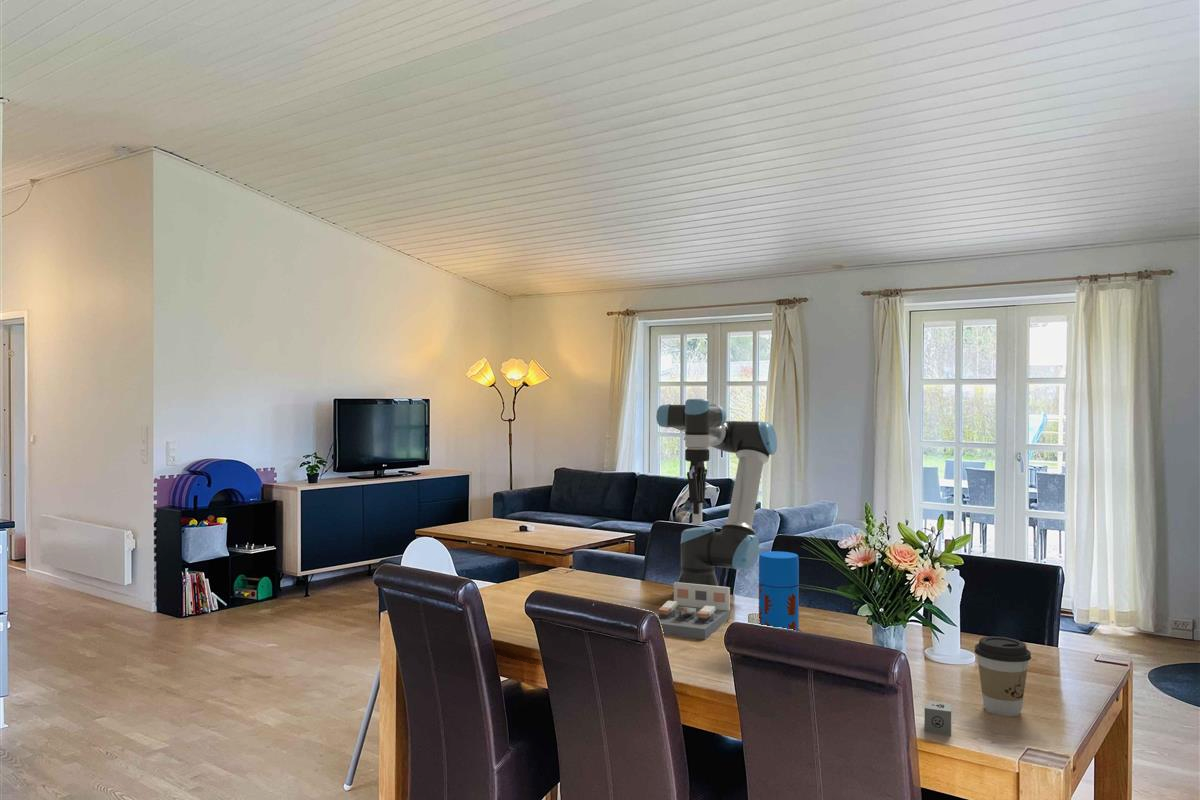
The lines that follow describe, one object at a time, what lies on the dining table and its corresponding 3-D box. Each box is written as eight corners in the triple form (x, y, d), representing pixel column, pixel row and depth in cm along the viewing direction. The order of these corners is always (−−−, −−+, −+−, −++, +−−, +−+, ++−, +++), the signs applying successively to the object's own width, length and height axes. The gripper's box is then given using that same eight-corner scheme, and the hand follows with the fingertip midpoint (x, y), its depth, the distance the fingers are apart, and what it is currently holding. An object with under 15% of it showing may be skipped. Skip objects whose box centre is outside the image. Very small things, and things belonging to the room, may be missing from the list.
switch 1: (668, 604, 259) (668, 600, 259) (677, 605, 258) (677, 601, 258) (658, 613, 252) (658, 609, 252) (668, 614, 251) (667, 610, 251)
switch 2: (686, 611, 256) (686, 607, 257) (695, 612, 255) (696, 608, 255) (677, 610, 249) (677, 606, 250) (687, 612, 248) (687, 607, 248)
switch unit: (674, 613, 269) (674, 581, 269) (729, 619, 261) (729, 587, 261) (646, 632, 247) (646, 597, 247) (705, 639, 239) (705, 604, 239)
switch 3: (705, 609, 254) (705, 605, 254) (715, 610, 253) (715, 606, 253) (696, 617, 247) (696, 613, 247) (706, 618, 246) (706, 614, 245)
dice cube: (950, 736, 171) (951, 711, 171) (924, 732, 173) (924, 707, 173) (951, 727, 176) (951, 703, 176) (925, 723, 178) (925, 700, 178)
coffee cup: (1005, 723, 178) (1005, 652, 178) (962, 705, 188) (962, 638, 188) (1043, 715, 182) (1043, 646, 182) (999, 698, 193) (999, 632, 193)
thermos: (796, 640, 239) (796, 551, 239) (801, 651, 229) (801, 558, 229) (757, 638, 240) (757, 550, 240) (760, 650, 230) (760, 558, 230)
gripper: (692, 446, 271) (692, 520, 271) (678, 449, 259) (678, 526, 259) (715, 447, 268) (715, 521, 268) (702, 449, 256) (702, 527, 256)
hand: (697, 523), depth 263 cm, fingers closed
